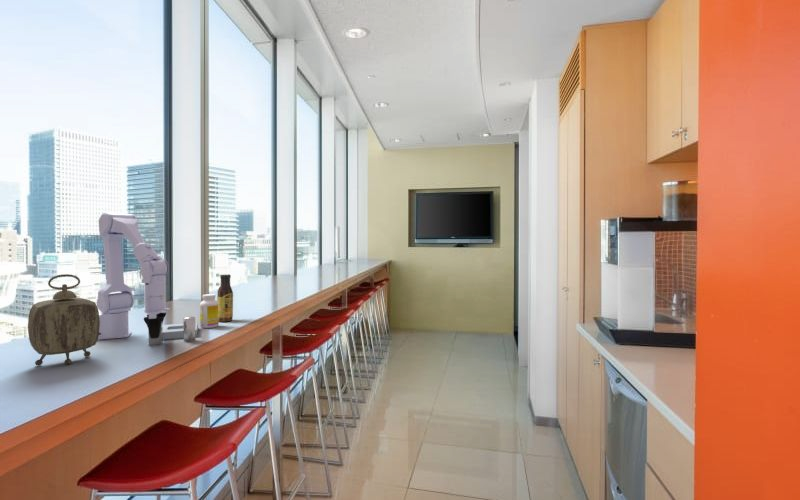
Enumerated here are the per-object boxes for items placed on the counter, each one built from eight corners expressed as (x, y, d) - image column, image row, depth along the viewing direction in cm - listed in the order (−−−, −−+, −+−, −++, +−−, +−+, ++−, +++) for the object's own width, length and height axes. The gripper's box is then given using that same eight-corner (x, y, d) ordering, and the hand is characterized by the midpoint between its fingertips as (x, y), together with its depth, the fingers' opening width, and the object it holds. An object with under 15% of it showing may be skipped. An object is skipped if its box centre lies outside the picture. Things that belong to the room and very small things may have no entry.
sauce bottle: (226, 322, 167) (226, 275, 166) (213, 322, 168) (213, 275, 167) (236, 319, 173) (236, 274, 172) (223, 319, 174) (223, 273, 174)
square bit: (148, 345, 131) (148, 321, 130) (150, 343, 134) (149, 319, 134) (161, 344, 132) (161, 320, 132) (162, 341, 135) (162, 318, 135)
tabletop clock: (93, 354, 120) (92, 272, 120) (102, 360, 115) (100, 273, 114) (28, 366, 109) (26, 275, 108) (34, 373, 103) (32, 277, 103)
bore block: (150, 340, 137) (150, 333, 137) (156, 332, 149) (156, 325, 149) (196, 336, 143) (196, 329, 143) (198, 328, 155) (197, 322, 155)
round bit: (183, 342, 135) (183, 318, 135) (183, 339, 138) (183, 316, 138) (195, 341, 136) (194, 318, 136) (195, 338, 140) (195, 316, 139)
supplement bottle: (221, 325, 162) (221, 293, 161) (212, 328, 155) (212, 296, 155) (206, 324, 162) (206, 293, 162) (196, 328, 156) (196, 295, 155)
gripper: (166, 298, 128) (167, 340, 128) (171, 292, 141) (171, 330, 141) (140, 299, 125) (141, 342, 125) (147, 293, 138) (148, 332, 138)
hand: (155, 336), depth 133 cm, fingers open, 4 cm apart
